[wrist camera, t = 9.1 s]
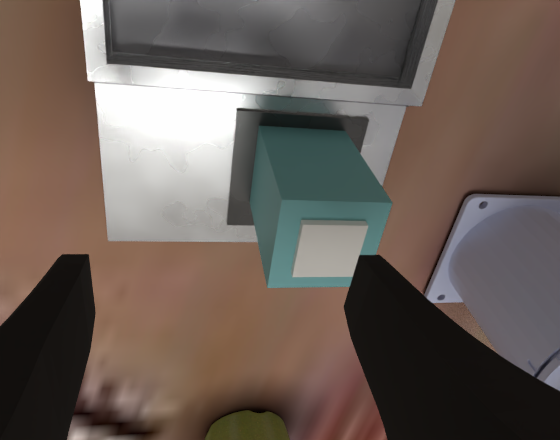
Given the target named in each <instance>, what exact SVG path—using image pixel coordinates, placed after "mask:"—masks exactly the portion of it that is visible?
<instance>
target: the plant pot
mask: <svg viewBox="0 0 560 440" xmlns="http://www.w3.org/2000/svg"><path fill="white" fill-rule="evenodd" d="M205 440H290V439H289V436H288V433H287V430H286V427H285V424H284V422H283V420H282V419H281V418H280V417H279V416H277V415H276V414H274V413H272V412H268V411H266V412H264V413H254V412H252V411H249V410H245V411H239V412H235V413H232V414H229V415H227V416H225V417H223V418H221V419H219V420H217V421H216V422H215V423H213V424H212V425H211V427H210V429H209V431H208V433H207V435H206V437H205Z"/></svg>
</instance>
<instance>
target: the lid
mask: <svg viewBox="0 0 560 440" xmlns="http://www.w3.org/2000/svg"><path fill="white" fill-rule="evenodd" d="M93 82H94V83H95V95H96V106H97V118H98V129H99V141H100V153H101V164H102V176H103V187H104V199H105V211H106V222H107V234H108V241H182V242H258V240H257V236H256V231H255V226H254V221H253V216H252V211H251V207H250V195H251V187H252V178H253V170H254V162H255V153H256V145H257V137H258V129H259V126H274V127H290V128H306V129H322V130H338V131H346V133H347V134H348V136H349V137H350V139H351V140H352V142H353V143H354V145H355V146H356V148H357V149H358V151H359V152H360V154H361V155H362V157H363V159H364V160H365V162H366V163H367V165H368V166H369V168H370V169H371V171H372V172H373V174H374V175H375V177H376V178H377V180H378V181H379V183H380V185H381V186H382V185H383V182H384V179H385V175H386V172H387V169H388V166H389V162H390V159H391V156H392V152H393V149H394V146H395V142H396V139H397V136H398V132H399V129H400V126H401V122H402V119H403V116H404V113H405V109H406V106H408V107H409V105H397V104H384V103H371V102H358V101H345V100H332V99H318V98H305V97H292V96H279V95H266V94H253V93H240V92H226V91H213V90H200V89H187V88H174V87H161V86H148V85H135V84H121V83H108V82H95V81H93Z"/></svg>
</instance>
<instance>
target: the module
mask: <svg viewBox="0 0 560 440" xmlns="http://www.w3.org/2000/svg"><path fill="white" fill-rule="evenodd" d="M391 206H392V201H391V200H390V198H389V197H388V195H387V194H386V192H385V191H384V189H383V188H382V186H381V185H380V183H379V181H378V180H377V178H376V177H375V175H374V174H373V172H372V171H371V169H370V168H369V166H368V165H367V163H366V162H365V160H364V159H363V157H362V155H361V154H360V152H359V151H358V149H357V148H356V146H355V145H354V143H353V142H352V140H351V139H350V137H349V136H348V134H347V133H346V131H338V130H322V129H306V128H290V127H274V126H259V129H258V137H257V145H256V153H255V162H254V170H253V178H252V187H251V195H250V207H251V211H252V216H253V221H254V226H255V231H256V236H257V240H258V245H259V250H260V255H261V260H262V265H263V269H264V274H265V279H266V284H267V288H289V287H350V284H351V281H352V278H353V274H354V271H355V267H356V264H357V261H358V257H359V255H376V252H377V249H378V246H379V243H380V240H381V237H382V234H383V231H384V228H385V224H386V221H387V218H388V215H389V212H390V209H391Z"/></svg>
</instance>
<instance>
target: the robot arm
mask: <svg viewBox="0 0 560 440" xmlns="http://www.w3.org/2000/svg"><path fill="white" fill-rule="evenodd" d="M483 201H484V202H483ZM481 202H483V203H482V204H481V205H479V204H480V203H481ZM444 302H464V304H465V305H466V307H467V308H468V310H469V311H470V313H471V314H472V316H473V317H474V319H475V320H476V322H477V323H478V325H479V326H480V328H481V329H482V331H483V332H484V334H485V335H486V337H487V338H488V340H489V341H490V343H491V344H492V345H493V347H494V348H495V350H496V351H497V353H498V354H497V353H496V352H494V351H493V350H491V349H490V348H489V347H487V346H486V345H484V344H483V343H482V342H480V341H479V340H477V339H476V338H475V337H473V336H472V335H471V334H469V333H468V332H467V331H465V330H464V329H463V328H462V327H460V326H459V325H458V324H457V323H455V322H454V321H453V320H452V319H450V318H449V317H448V316H447V315H446V314H444V313H443V312H442V311H441V310H440V309H438V308H437V307H436V306H435V305H434V304H433V303H444ZM344 310H345V315H346V319H347V324H348V328H349V332H350V336H351V339H352V342H353V345H354V348H355V350H356V353H357V356H358V358H359V361H360V363H361V366H362V369H363V371H364V374H365V376H366V379H367V381H368V384H369V387H370V389H371V392H372V394H373V397H374V400H375V402H376V405H377V407H378V410H379V413H380V416H381V419H382V422H383V425H384V428H385V432H386V436H387V439H388V440H560V197H556V196H526V195H496V194H472V195H470V196H468V197H467V198H466V199H465V201H464V203H463V205H462V207H461V210H460V212H459V214H458V217H457V219H456V221H455V224H454V226H453V228H452V231H451V233H450V235H449V238H448V240H447V243H446V245H445V247H444V250H443V252H442V254H441V257H440V259H439V261H438V264H437V266H436V268H435V271H434V273H433V275H432V278H431V280H430V282H429V285H428V287H427V290H426V292H425V295H423V294H422V293H420V292H419V291H418V290H417V289H416V288H415V287H414V286H413V285H412V284H411V283H410V282H409V281H407V280H406V279H405V278H404V277H403V276H402V275H401V274H400V273H399V272H398V271H397V270H396V269H395V268H394V267H392V266H391V265H390V264H389V263H388V262H387V261H386V260H385V259H384V258H382V257H381V256H380V255H359V257H358V261H357V264H356V267H355V271H354V274H353V278H352V281H351V284H350V288H349V291H348V294H347V298H346V301H345V304H344ZM94 320H95V304H94V296H93V287H92V279H91V270H90V262H89V254H62V255H61V256H60V257H59V258H58V259H57V260H56V262H55V263H54V264H53V265H52V267H51V268H50V269H49V271H48V272H47V273H46V274H45V276H44V277H43V278H42V279H41V281H40V282H39V283H38V284H37V286H36V287H35V288H34V289H33V290H32V292H31V293H30V294H29V295H28V296H27V297H26V299H25V300H24V301H23V302H22V303H21V304H20V305H19V306H18V308H17V309H16V310H15V311H14V312H13V313H12V314H11V315H10V317H9V318H8V319H7V320H6V321H5V322H4V323H3V324H2V325H1V326H0V440H67V436H68V431H69V428H70V424H71V420H72V417H73V413H74V409H75V405H76V402H77V398H78V394H79V391H80V387H81V383H82V379H83V376H84V372H85V368H86V364H87V361H88V357H89V353H90V349H91V342H92V335H93V328H94Z"/></svg>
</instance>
